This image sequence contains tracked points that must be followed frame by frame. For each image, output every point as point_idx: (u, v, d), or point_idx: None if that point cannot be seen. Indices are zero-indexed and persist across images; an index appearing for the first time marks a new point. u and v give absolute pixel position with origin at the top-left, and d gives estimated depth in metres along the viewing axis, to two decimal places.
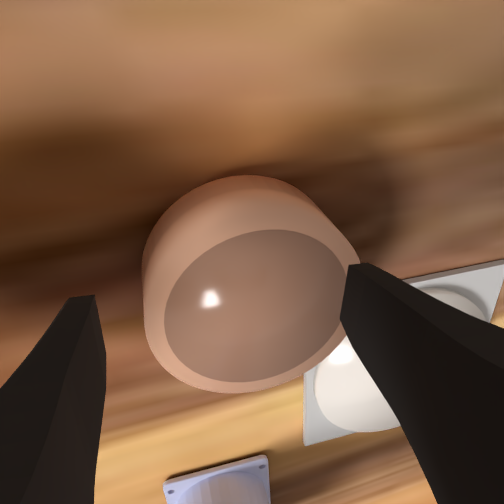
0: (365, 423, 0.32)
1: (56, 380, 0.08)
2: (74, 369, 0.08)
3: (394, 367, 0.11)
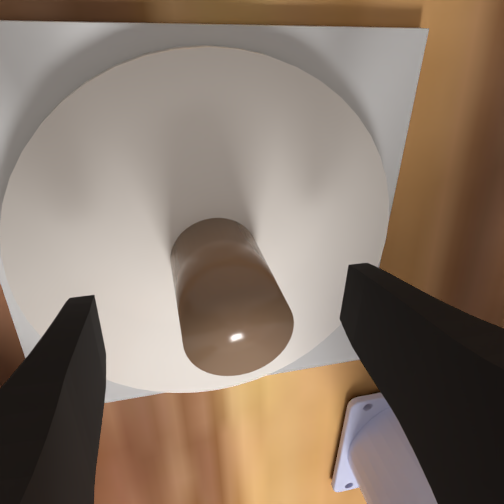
0: (338, 298, 0.17)
1: (56, 380, 0.08)
2: (74, 369, 0.08)
3: (394, 367, 0.11)
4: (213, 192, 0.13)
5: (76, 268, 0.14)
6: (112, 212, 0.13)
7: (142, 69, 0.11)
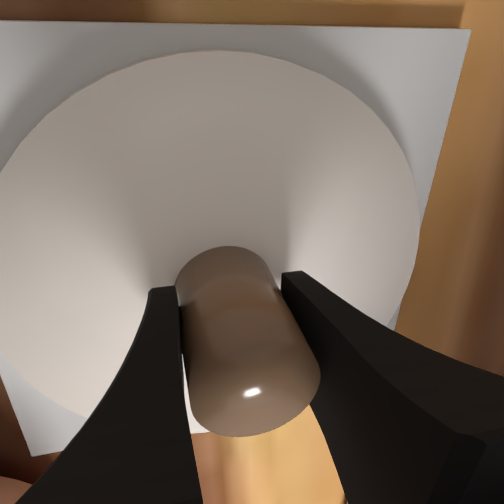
0: None
1: (171, 362, 0.08)
2: (178, 353, 0.09)
3: None
4: (223, 218, 0.12)
5: (65, 304, 0.12)
6: (107, 242, 0.11)
7: (140, 78, 0.09)
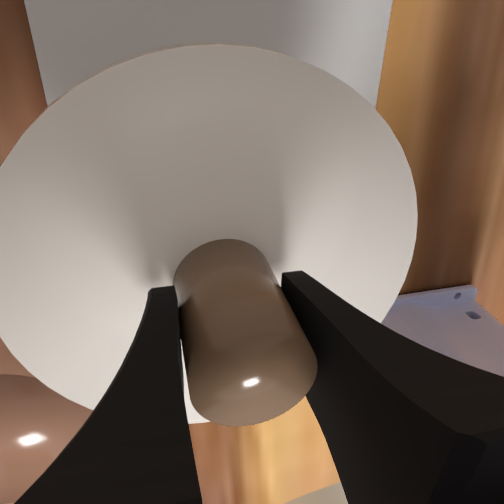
0: None
1: (171, 362, 0.08)
2: (178, 353, 0.09)
3: (319, 381, 0.10)
4: (222, 211, 0.12)
5: (66, 295, 0.12)
6: (108, 234, 0.11)
7: (142, 71, 0.09)
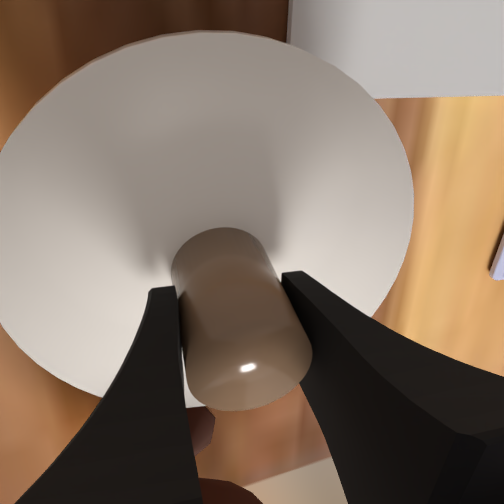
0: None
1: (171, 362, 0.08)
2: (178, 353, 0.09)
3: (319, 381, 0.10)
4: (226, 199, 0.12)
5: (63, 273, 0.12)
6: (110, 214, 0.11)
7: (158, 54, 0.09)
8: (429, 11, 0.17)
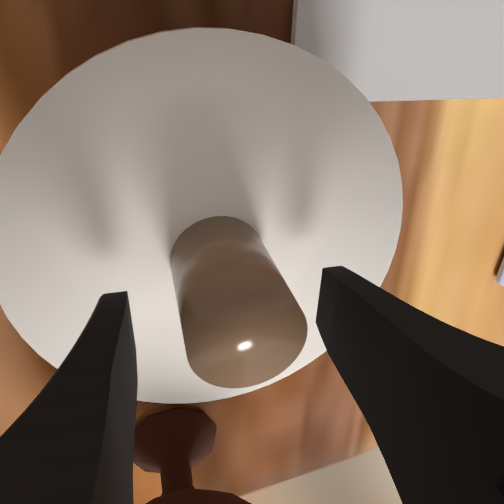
0: None
1: (103, 373, 0.08)
2: (117, 362, 0.08)
3: (365, 372, 0.11)
4: (222, 188, 0.12)
5: (66, 261, 0.12)
6: (112, 202, 0.12)
7: (157, 47, 0.10)
8: (437, 11, 0.17)
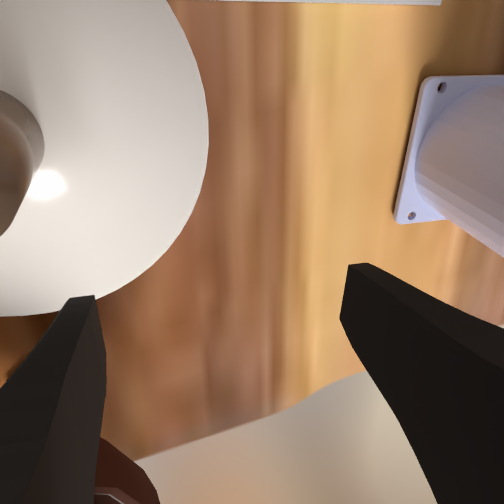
0: (160, 213, 0.15)
1: (56, 380, 0.08)
2: (74, 369, 0.08)
3: (394, 367, 0.11)
4: None
5: None
6: None
7: None
8: None
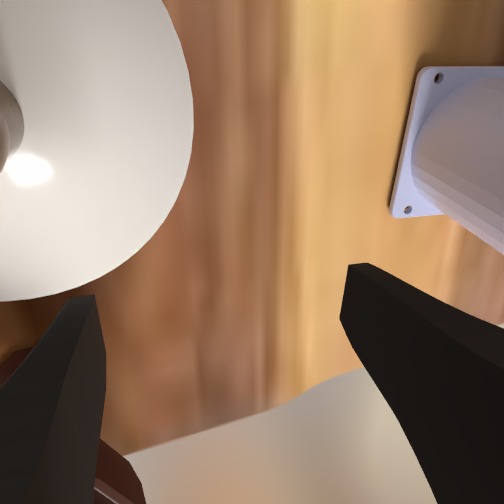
0: (144, 199, 0.15)
1: (56, 380, 0.08)
2: (74, 369, 0.08)
3: (394, 367, 0.11)
4: None
5: None
6: None
7: None
8: None
